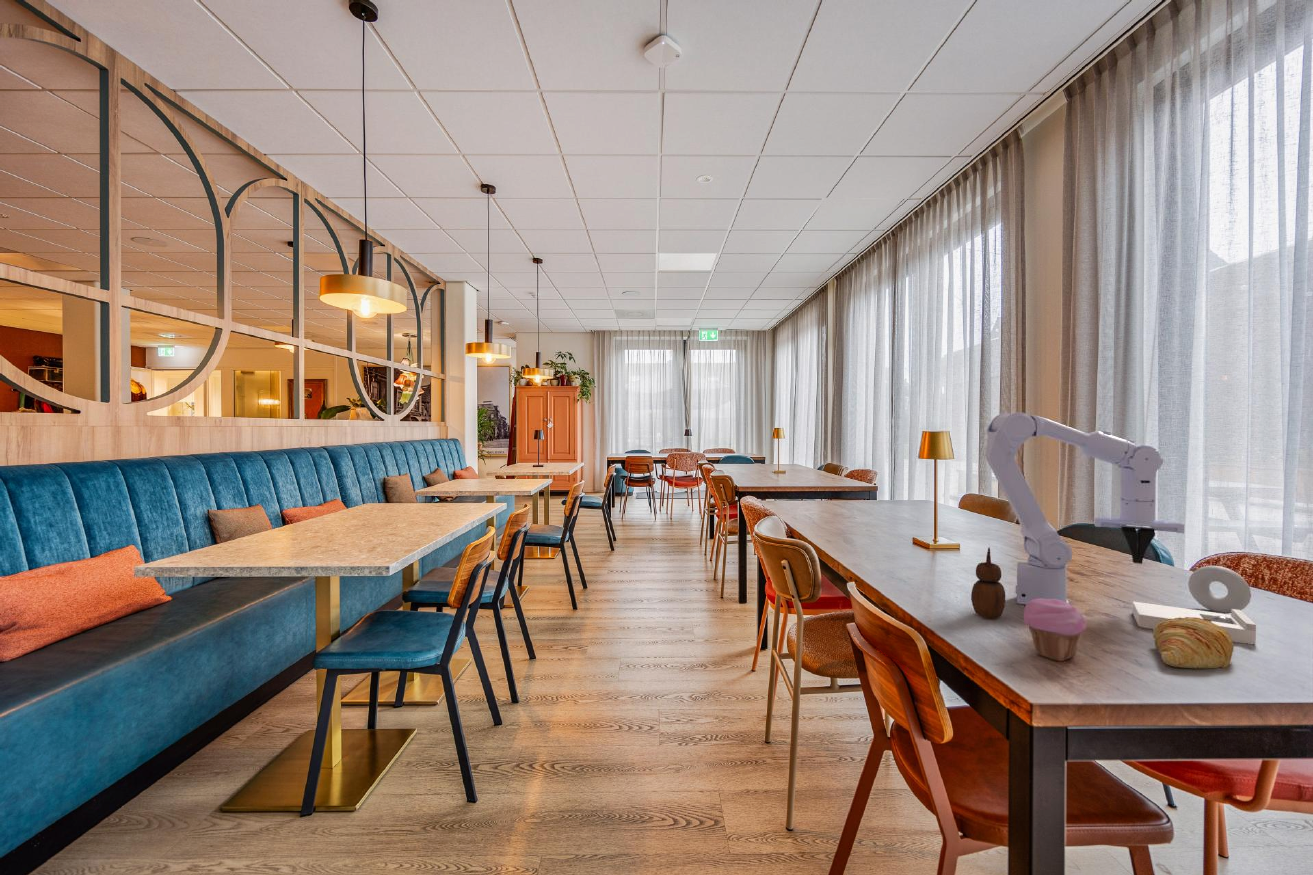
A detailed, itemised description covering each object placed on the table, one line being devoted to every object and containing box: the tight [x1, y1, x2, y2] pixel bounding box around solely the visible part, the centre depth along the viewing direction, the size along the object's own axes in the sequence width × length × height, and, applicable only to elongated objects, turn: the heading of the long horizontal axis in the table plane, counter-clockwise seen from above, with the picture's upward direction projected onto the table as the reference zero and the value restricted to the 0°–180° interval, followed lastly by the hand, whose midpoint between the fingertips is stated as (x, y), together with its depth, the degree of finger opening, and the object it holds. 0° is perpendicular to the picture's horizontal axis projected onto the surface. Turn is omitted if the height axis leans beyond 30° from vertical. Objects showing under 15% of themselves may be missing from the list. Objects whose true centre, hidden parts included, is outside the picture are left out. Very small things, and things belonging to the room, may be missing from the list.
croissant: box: [1152, 617, 1235, 669], centre depth 94 cm, size 21×10×8 cm, turn 121°
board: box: [1132, 601, 1257, 646], centre depth 108 cm, size 16×10×4 cm, turn 54°
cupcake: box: [1023, 598, 1087, 662], centre depth 95 cm, size 9×9×10 cm
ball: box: [1211, 616, 1233, 624], centre depth 105 cm, size 3×3×3 cm
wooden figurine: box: [970, 546, 1006, 620], centre depth 115 cm, size 7×6×15 cm
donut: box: [1187, 565, 1252, 615], centre depth 117 cm, size 10×4×10 cm, turn 20°
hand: (1137, 562), depth 118 cm, fingers closed
